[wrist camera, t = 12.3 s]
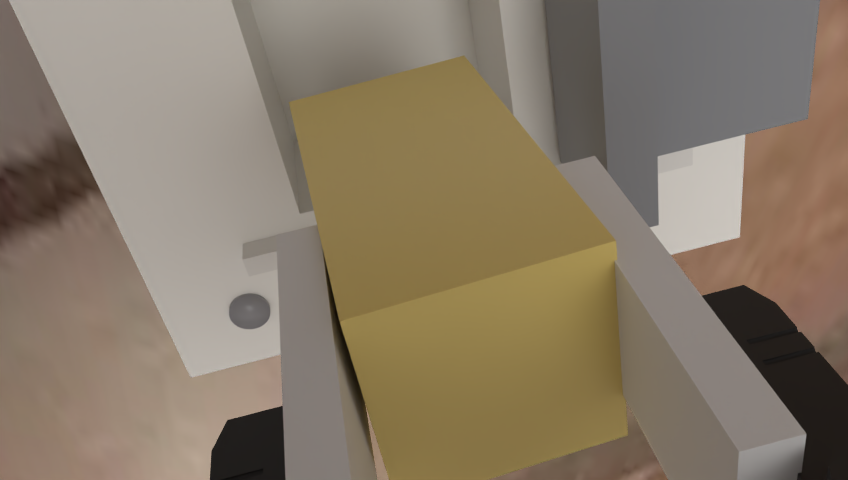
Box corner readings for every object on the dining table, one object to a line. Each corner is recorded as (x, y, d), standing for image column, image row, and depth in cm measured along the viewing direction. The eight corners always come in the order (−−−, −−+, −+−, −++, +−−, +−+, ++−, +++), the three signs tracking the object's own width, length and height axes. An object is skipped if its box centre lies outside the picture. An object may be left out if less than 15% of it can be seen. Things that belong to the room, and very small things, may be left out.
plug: (288, 101, 18) (339, 321, 11) (464, 55, 18) (616, 240, 11) (333, 250, 20) (398, 508, 13) (488, 206, 20) (627, 434, 14)
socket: (-14, -210, 20) (-97, -184, 16) (671, -362, 21) (793, -382, 16) (199, 283, 29) (188, 395, 25) (673, 164, 30) (752, 251, 25)
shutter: (536, -88, 19) (595, -45, 16) (810, -152, 19) (923, -122, 16) (560, 161, 23) (611, 237, 20) (788, 104, 23) (876, 169, 20)
